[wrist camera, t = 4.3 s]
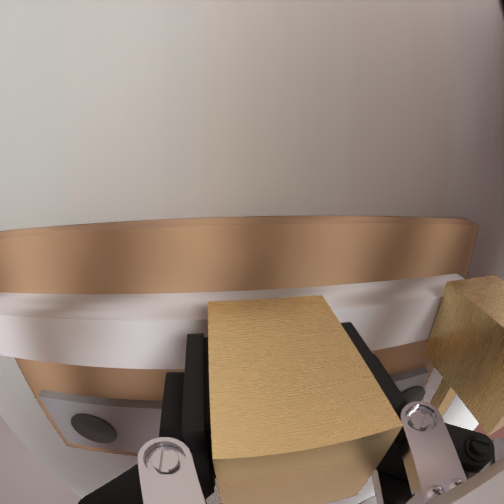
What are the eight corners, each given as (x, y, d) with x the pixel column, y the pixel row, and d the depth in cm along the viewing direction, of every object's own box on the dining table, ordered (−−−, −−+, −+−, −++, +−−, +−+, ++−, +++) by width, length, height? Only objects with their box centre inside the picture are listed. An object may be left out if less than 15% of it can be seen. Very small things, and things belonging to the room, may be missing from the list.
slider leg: (314, 283, 12) (403, 425, 5) (290, 438, 15) (318, 538, 9) (208, 288, 11) (212, 459, 5) (221, 445, 15) (233, 550, 8)
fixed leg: (484, 267, 13) (574, 333, 6) (429, 404, 17) (475, 473, 10) (435, 273, 12) (538, 359, 6) (382, 419, 16) (425, 501, 10)
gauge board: (465, 218, 14) (503, 237, 11) (399, 412, 20) (416, 440, 17) (-14, 232, 11) (-50, 256, 8) (70, 434, 17) (61, 465, 14)
